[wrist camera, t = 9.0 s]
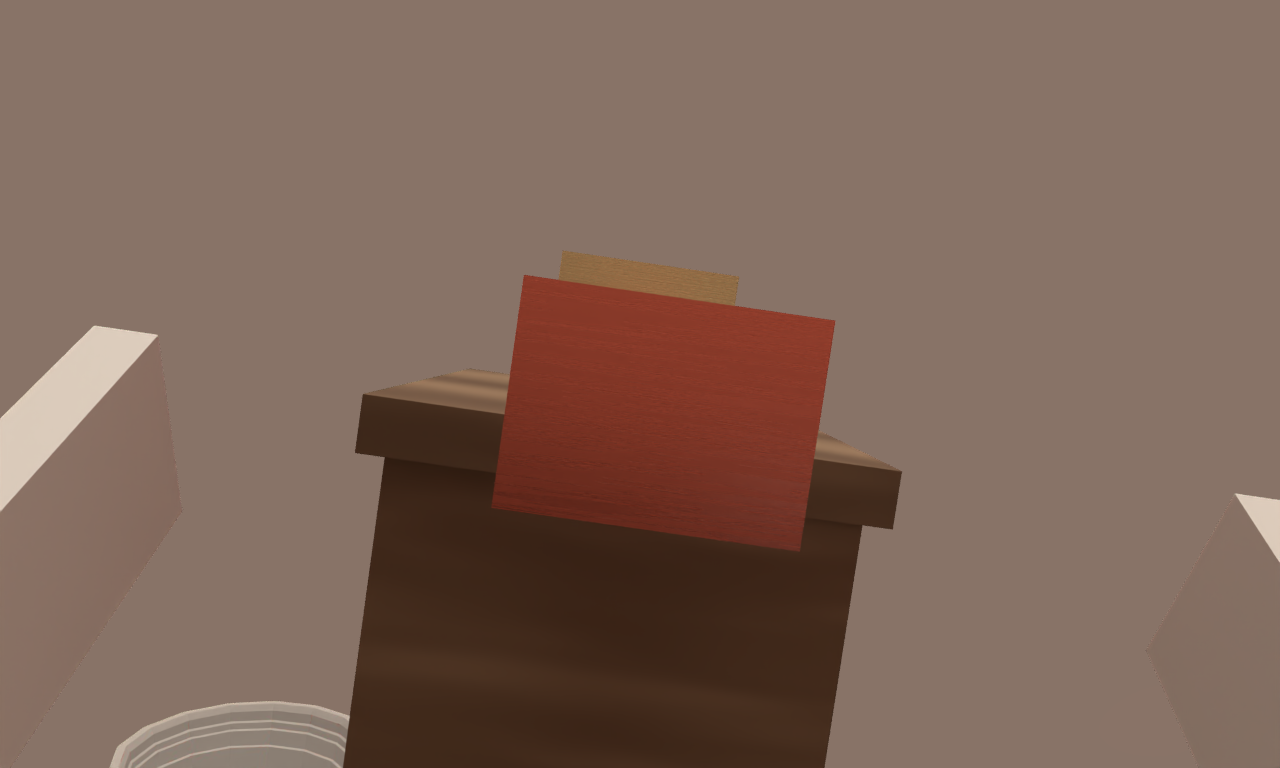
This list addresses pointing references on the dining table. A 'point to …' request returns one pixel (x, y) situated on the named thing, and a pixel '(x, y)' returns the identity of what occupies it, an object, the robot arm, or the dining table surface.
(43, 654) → the robot arm
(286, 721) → the plastic cup
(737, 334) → the lever
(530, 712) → the stand
